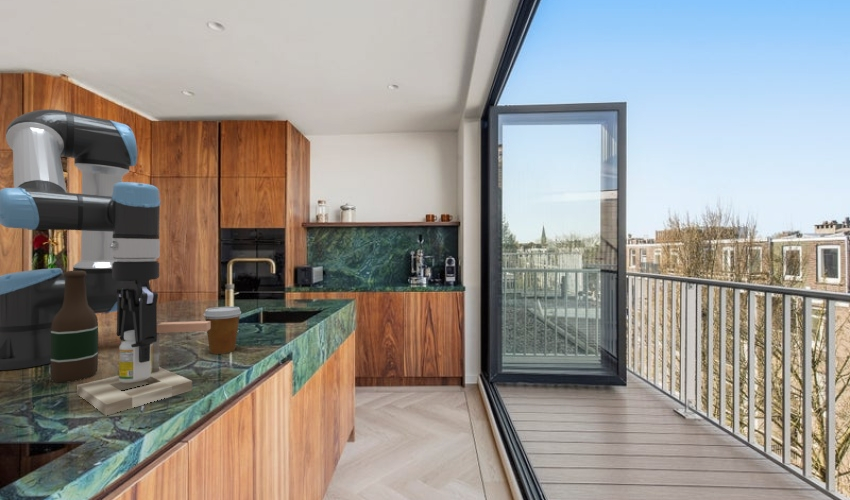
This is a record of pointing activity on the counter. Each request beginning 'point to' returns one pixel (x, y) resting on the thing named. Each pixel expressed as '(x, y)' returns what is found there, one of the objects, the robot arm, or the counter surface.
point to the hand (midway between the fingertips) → (135, 374)
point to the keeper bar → (183, 326)
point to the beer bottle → (74, 333)
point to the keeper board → (114, 400)
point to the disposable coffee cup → (222, 328)
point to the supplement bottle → (128, 358)
